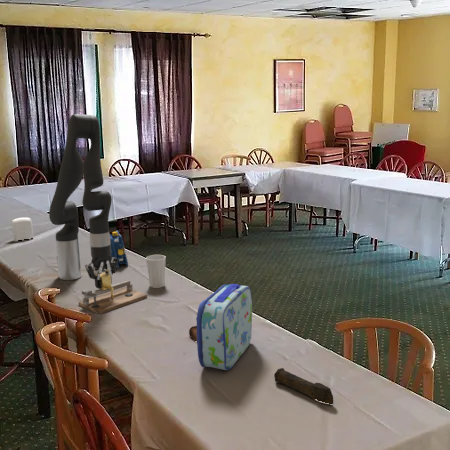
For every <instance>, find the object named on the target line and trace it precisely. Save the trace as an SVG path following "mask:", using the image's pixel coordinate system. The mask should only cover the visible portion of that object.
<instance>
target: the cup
mask: <svg viewBox="0 0 450 450" xmlns="http://www.w3.org/2000/svg"><path fill="white" fill-rule="evenodd" d="M166 257H167V256H165V255H162V254H152V255H147V256H146V258H145V260H146V267H147V268H146V269H147V274H148V275H147V276H148V281H149V287H150V288H154V289H158V288H163V287H165V286H166V261H167V260H166Z"/></svg>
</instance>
